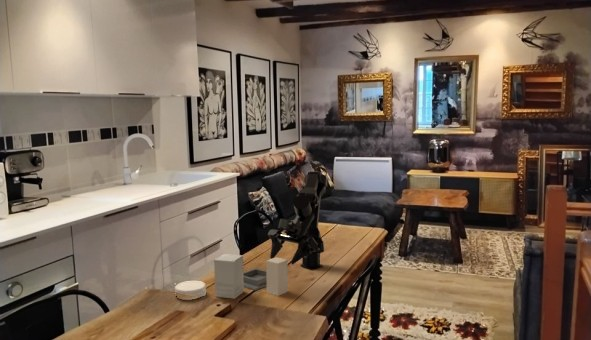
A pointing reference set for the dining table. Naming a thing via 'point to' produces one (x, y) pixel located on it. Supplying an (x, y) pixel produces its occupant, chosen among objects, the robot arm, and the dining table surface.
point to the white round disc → (191, 288)
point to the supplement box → (229, 276)
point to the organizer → (255, 279)
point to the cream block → (277, 276)
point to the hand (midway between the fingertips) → (281, 261)
